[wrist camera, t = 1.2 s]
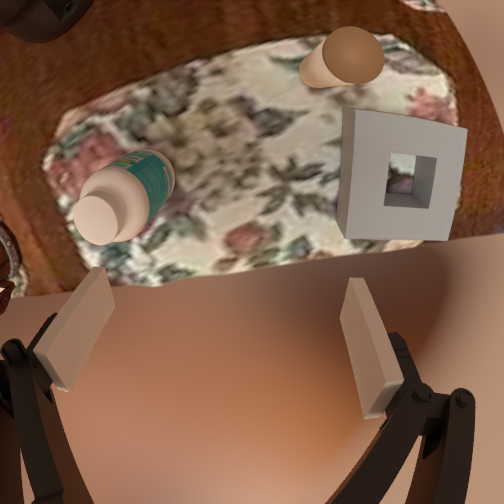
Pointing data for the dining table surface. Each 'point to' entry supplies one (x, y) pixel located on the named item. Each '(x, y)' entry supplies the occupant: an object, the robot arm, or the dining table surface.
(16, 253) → the mug
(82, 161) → the dining table surface
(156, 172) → the pill bottle
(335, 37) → the peg
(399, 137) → the socket
